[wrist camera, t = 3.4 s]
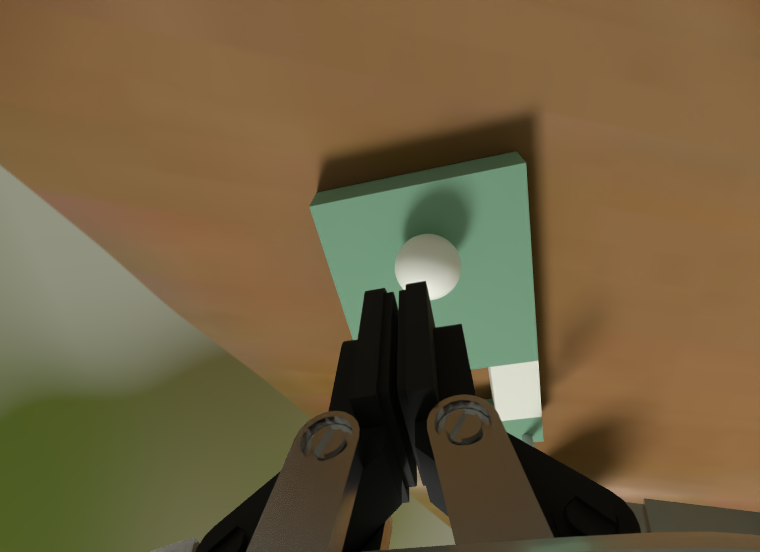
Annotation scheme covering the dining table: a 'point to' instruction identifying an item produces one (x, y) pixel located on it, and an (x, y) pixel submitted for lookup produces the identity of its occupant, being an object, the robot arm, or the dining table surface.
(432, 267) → the ball
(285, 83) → the dining table surface
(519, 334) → the green
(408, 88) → the dining table surface
